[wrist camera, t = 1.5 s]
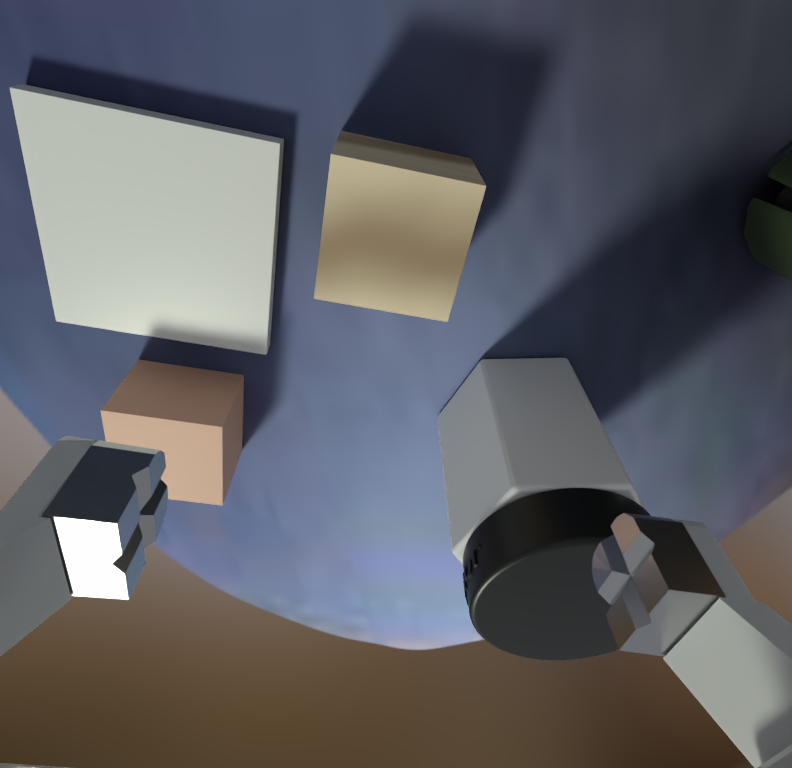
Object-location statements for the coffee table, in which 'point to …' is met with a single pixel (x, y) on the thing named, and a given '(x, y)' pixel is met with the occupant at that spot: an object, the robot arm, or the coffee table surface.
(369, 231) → the maple block
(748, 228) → the character mug
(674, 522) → the robot arm
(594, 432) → the jar
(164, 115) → the base plate
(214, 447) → the terracotta block
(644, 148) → the coffee table surface
